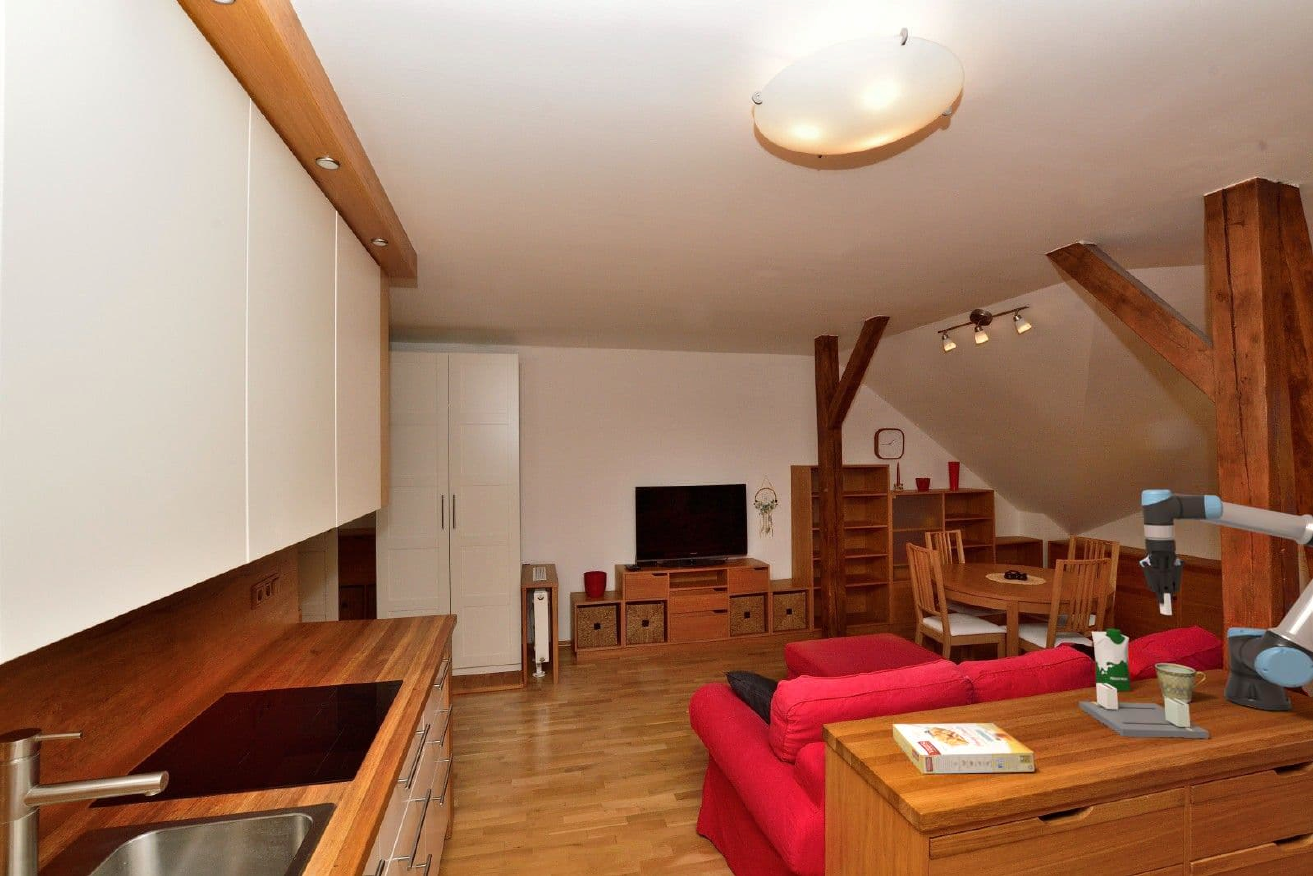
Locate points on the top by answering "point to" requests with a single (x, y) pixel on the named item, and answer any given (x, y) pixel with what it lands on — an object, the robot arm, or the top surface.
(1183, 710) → the fader
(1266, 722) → the top surface
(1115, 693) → the block
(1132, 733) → the console
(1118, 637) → the milk carton
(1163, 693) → the ceramic cup
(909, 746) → the cereal box
